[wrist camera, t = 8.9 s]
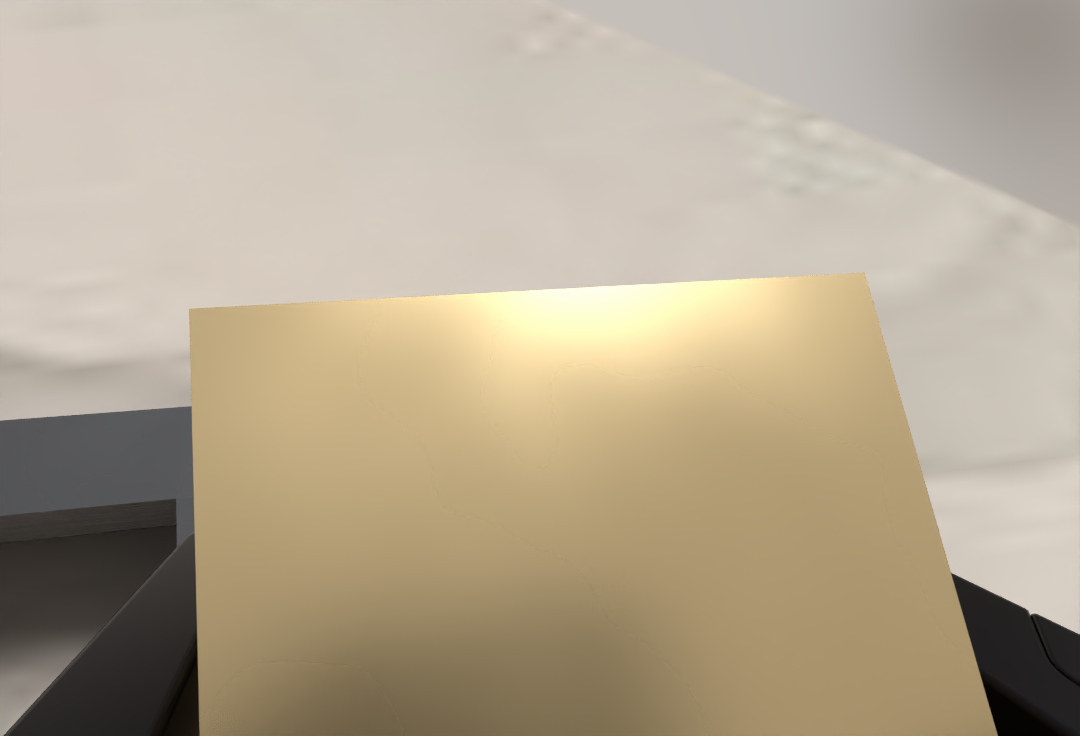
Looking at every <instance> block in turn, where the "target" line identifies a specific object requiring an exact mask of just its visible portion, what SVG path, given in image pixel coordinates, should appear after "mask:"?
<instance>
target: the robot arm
mask: <svg viewBox="0 0 1080 736" xmlns="http://www.w3.org/2000/svg"><path fill="white" fill-rule="evenodd" d="M951 575H952V578H953V582H954V585H955V589H956V592H957V596H958V599H959V603H960V606H961V610H962V613H963V617H964V620H965V624H966V627H967V631H968V634H969V638H970V641H971V644H972V648H973V651H974V655H975V658H976V662H977V665H978V669H979V672H980V676H981V679H982V683H983V686H984V690H985V693H986V697H987V700H988V704H989V707H990V711H991V714H992V717H993V721H994V724H995V728H996V731H997V735H998V736H1080V634H1077V633H1075V632H1073V631H1071V630H1069V629H1067V628H1065V627H1063V626H1061V625H1059V624H1056V623H1054V622H1052V621H1050V620H1048V619H1046V618H1044V617H1042V616H1040V615H1038V614H1031V615H1030V614H1029V611H1028V610H1027V609H1025V608H1023V607H1021V606H1019V605H1017V604H1015V603H1013V602H1011V601H1009V600H1006V599H1004V598H1002V597H1000V596H998V595H996V594H994V593H992V592H990V591H988V590H986V589H984V588H982V587H979V586H977V585H975V584H973V583H971V582H969V581H967V580H965V579H963V578H961V577H959V576H957V575H954V574H952V573H951ZM4 736H200V728H199V687H198V646H197V605H196V565H195V532H192V533H190V534H189V535H188V536H187V537H186V538H185V539H184V540H183V541H182V542H181V543H180V544H179V545H178V546H177V547H176V549H175V550H174V551H173V552H172V553H171V554H170V555H169V556H168V557H167V558H166V559H165V561H164V562H163V563H162V564H161V565H160V566H159V567H158V568H157V569H156V570H155V571H154V572H153V574H152V575H151V576H150V577H149V578H148V579H147V580H146V581H145V582H144V583H143V584H142V586H141V587H140V588H139V589H138V590H137V591H136V592H135V593H134V594H133V595H132V596H131V598H130V599H129V600H128V601H127V602H126V603H125V604H124V605H123V606H122V607H121V608H120V610H119V611H118V612H117V613H116V614H115V615H114V616H113V617H112V618H111V619H110V620H109V621H108V623H107V624H106V625H105V626H104V627H103V628H102V629H101V630H100V631H99V632H98V633H97V635H96V636H95V637H94V638H93V639H92V640H91V641H90V642H89V643H88V644H87V645H86V647H85V648H84V649H83V650H82V651H81V652H80V653H79V654H78V655H77V656H76V657H75V659H74V660H73V661H72V662H71V663H70V664H69V665H68V666H67V667H66V668H65V669H64V670H63V672H62V673H61V674H60V675H59V676H58V677H57V678H56V679H55V680H54V681H53V682H52V684H51V685H50V686H49V687H48V688H47V689H46V690H45V691H44V692H43V693H42V694H41V696H40V697H39V698H38V699H37V700H36V701H35V702H34V703H33V704H32V705H31V706H30V708H29V709H28V710H27V711H26V712H25V713H24V714H23V715H22V716H21V717H20V718H19V720H18V721H17V722H16V723H15V724H14V725H13V726H12V727H11V728H10V729H9V730H8V731H7V733H6V734H5V735H4Z"/></svg>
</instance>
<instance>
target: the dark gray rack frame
mask: <svg viewBox="0 0 1080 736" xmlns="http://www.w3.org/2000/svg"><path fill="white" fill-rule="evenodd" d="M169 525H177V546H178V545H179V544H180V543H181V542H182V541H183V540H184V539H185V538H186V537H187V536H188V535H189V534H190V533H192V532H195V524H194V483H193V442H192V406H191V407H178V408H164V409H151V410H138V411H124V412H111V413H98V414H84V415H71V416H57V417H44V418H31V419H17V420H4V421H0V543H9V542H18V541H27V540H37V539H46V538H56V537H65V536H75V535H84V534H93V533H103V532H112V531H122V530H131V529H141V528H150V527H159V526H169Z"/></svg>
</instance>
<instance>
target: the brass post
mask: <svg viewBox="0 0 1080 736" xmlns="http://www.w3.org/2000/svg"><path fill="white" fill-rule="evenodd" d="M189 320H190V361H191V402H192V442H193V483H194V524H195V565H196V605H197V646H198V687H199V728H200V736H998V735H997V731H996V728H995V724H994V721H993V717H992V714H991V711H990V707H989V704H988V700H987V697H986V693H985V690H984V686H983V683H982V679H981V676H980V672H979V669H978V665H977V662H976V658H975V655H974V651H973V648H972V644H971V641H970V638H969V634H968V631H967V627H966V624H965V620H964V617H963V613H962V610H961V606H960V603H959V599H958V596H957V592H956V589H955V585H954V582H953V578H952V575H951V572H950V568H949V565H948V561H947V558H946V554H945V551H944V547H943V544H942V540H941V537H940V533H939V530H938V526H937V523H936V519H935V516H934V512H933V509H932V506H931V502H930V499H929V495H928V492H927V488H926V485H925V481H924V478H923V474H922V471H921V467H920V464H919V460H918V457H917V453H916V450H915V446H914V443H913V439H912V436H911V433H910V429H909V426H908V422H907V419H906V415H905V412H904V408H903V405H902V401H901V398H900V394H899V391H898V387H897V384H896V380H895V377H894V373H893V370H892V367H891V363H890V360H889V356H888V353H887V349H886V346H885V342H884V339H883V335H882V332H881V328H880V325H879V321H878V318H877V314H876V311H875V307H874V304H873V301H872V297H871V294H870V290H869V287H868V283H867V280H866V276H865V273H851V274H832V275H814V276H795V277H776V278H758V279H739V280H720V281H702V282H683V283H664V284H646V285H627V286H608V287H589V288H571V289H552V290H533V291H515V292H496V293H477V294H459V295H440V296H421V297H403V298H384V299H365V300H347V301H328V302H309V303H291V304H272V305H253V306H235V307H216V308H197V309H189Z"/></svg>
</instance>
